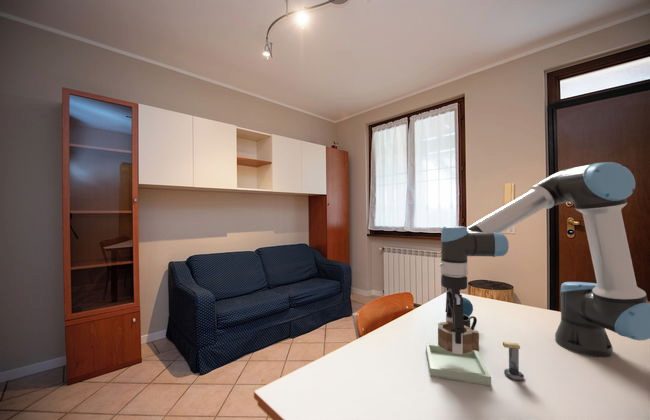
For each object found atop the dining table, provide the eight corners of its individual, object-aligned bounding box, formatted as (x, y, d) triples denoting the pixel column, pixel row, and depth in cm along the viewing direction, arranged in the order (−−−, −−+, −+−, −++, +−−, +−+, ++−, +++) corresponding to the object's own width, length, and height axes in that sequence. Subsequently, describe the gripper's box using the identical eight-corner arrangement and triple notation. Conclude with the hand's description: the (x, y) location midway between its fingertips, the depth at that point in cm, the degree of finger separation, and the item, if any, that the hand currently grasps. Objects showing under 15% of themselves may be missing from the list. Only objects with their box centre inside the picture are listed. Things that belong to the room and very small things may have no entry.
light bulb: (473, 323, 119) (473, 296, 119) (472, 331, 112) (472, 301, 112) (452, 319, 123) (452, 293, 124) (450, 326, 116) (450, 298, 116)
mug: (484, 344, 100) (484, 318, 100) (455, 348, 98) (455, 321, 98) (468, 335, 108) (468, 311, 108) (441, 337, 106) (441, 313, 106)
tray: (476, 356, 92) (476, 349, 92) (491, 385, 77) (491, 376, 77) (425, 350, 96) (425, 343, 96) (430, 376, 81) (430, 368, 81)
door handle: (519, 372, 83) (519, 341, 83) (526, 382, 78) (526, 348, 78) (501, 370, 84) (500, 339, 84) (506, 379, 80) (506, 346, 80)
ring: (476, 343, 88) (476, 325, 88) (480, 357, 79) (480, 338, 79) (438, 336, 93) (438, 320, 93) (437, 349, 84) (437, 331, 84)
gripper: (436, 267, 99) (436, 328, 98) (447, 282, 77) (447, 361, 77) (459, 268, 97) (459, 331, 96) (476, 284, 75) (476, 365, 75)
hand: (454, 344), depth 86 cm, fingers closed on ring, 10 cm apart
